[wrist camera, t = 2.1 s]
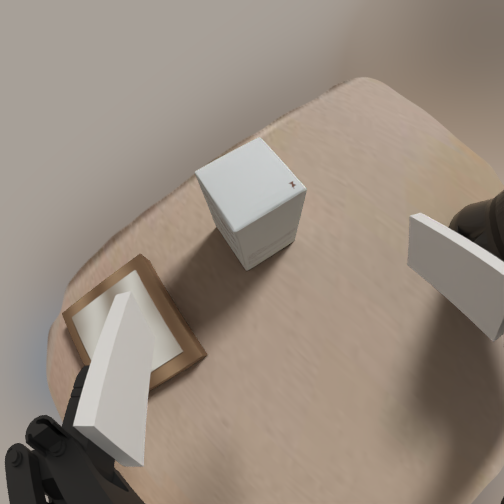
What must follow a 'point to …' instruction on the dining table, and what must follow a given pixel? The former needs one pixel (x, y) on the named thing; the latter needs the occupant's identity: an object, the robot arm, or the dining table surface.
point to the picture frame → (154, 311)
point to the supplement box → (253, 201)
